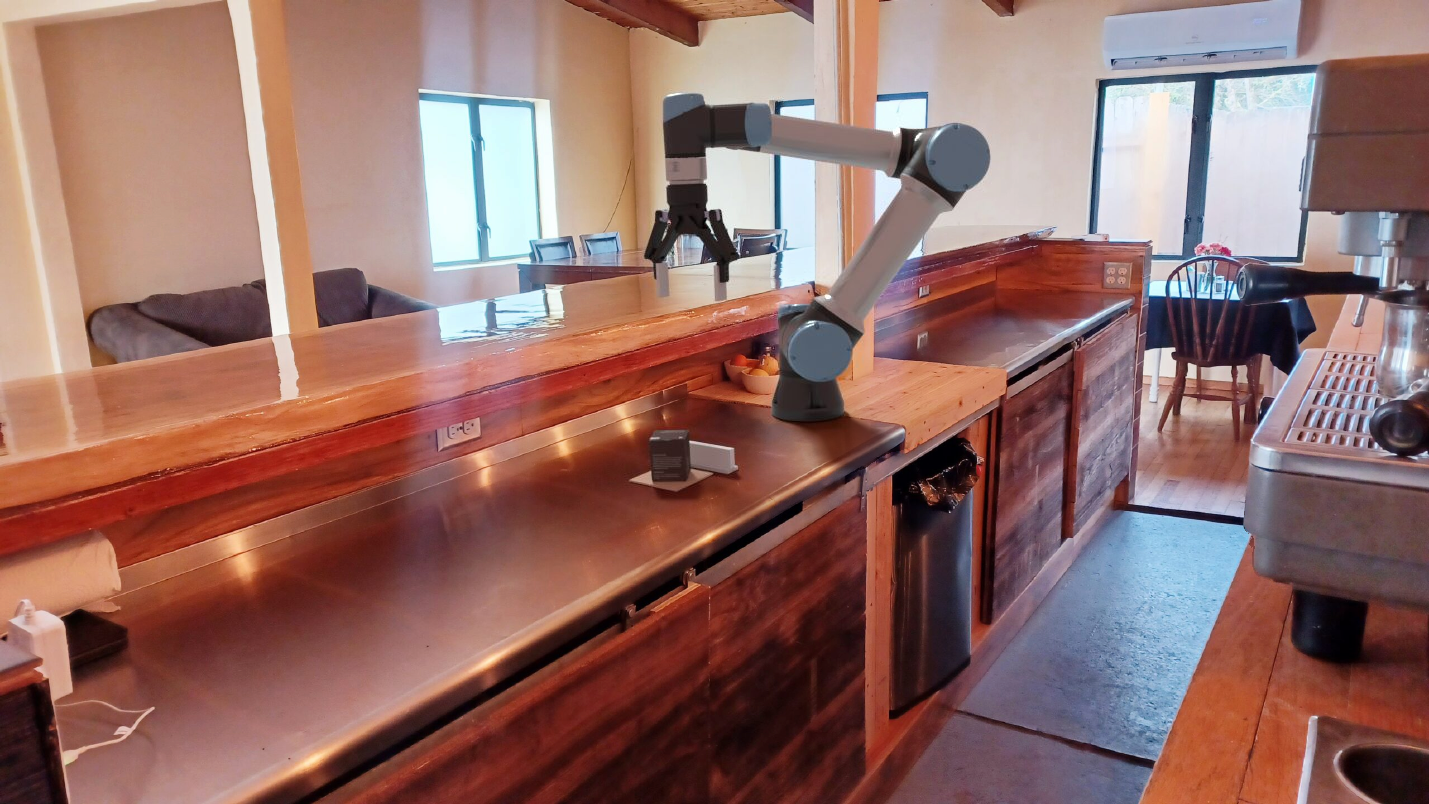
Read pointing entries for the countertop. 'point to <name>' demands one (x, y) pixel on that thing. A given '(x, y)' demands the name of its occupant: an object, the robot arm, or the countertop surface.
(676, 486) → the pad
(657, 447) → the box
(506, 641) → the countertop surface
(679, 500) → the countertop surface
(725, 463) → the divider wall
